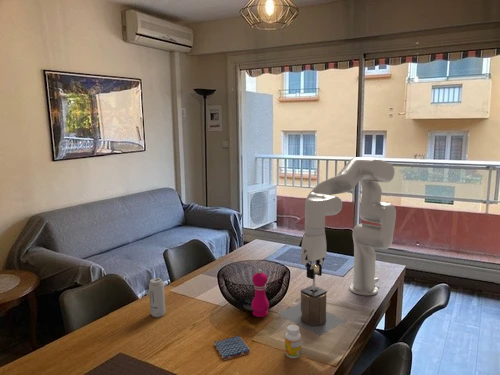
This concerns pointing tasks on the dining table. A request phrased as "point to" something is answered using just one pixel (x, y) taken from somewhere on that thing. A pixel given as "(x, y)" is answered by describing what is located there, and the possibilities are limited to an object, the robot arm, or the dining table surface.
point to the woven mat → (232, 347)
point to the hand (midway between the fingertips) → (314, 275)
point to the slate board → (295, 316)
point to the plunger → (316, 271)
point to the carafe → (313, 306)
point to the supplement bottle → (293, 341)
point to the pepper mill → (260, 295)
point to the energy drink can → (157, 297)
